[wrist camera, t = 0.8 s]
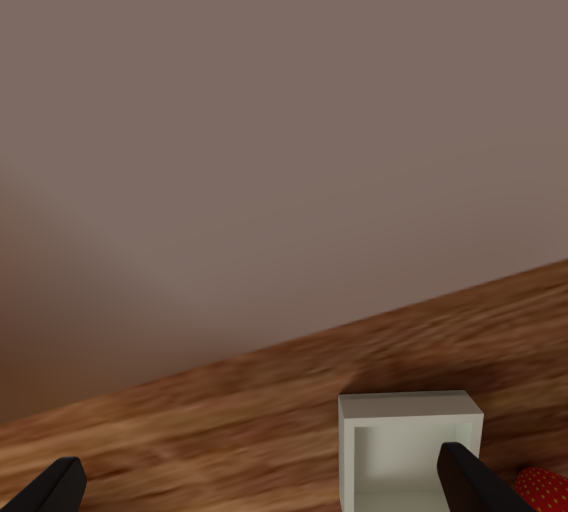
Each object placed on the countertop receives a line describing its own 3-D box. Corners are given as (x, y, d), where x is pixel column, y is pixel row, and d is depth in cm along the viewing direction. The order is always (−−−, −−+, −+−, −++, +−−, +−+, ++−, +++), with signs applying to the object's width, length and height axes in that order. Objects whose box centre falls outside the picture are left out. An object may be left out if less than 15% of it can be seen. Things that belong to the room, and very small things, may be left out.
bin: (454, 489, 27) (471, 521, 24) (339, 493, 27) (344, 525, 25) (464, 389, 25) (483, 413, 22) (338, 394, 25) (344, 418, 22)
